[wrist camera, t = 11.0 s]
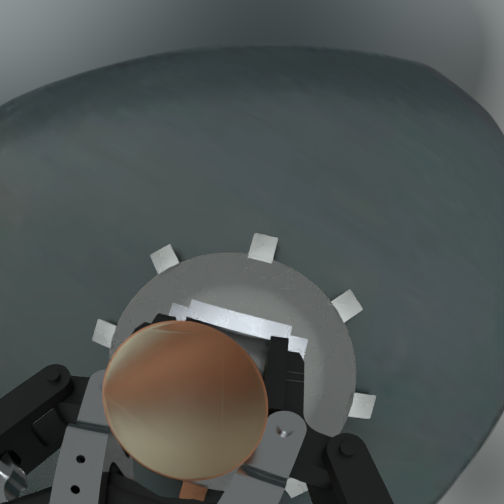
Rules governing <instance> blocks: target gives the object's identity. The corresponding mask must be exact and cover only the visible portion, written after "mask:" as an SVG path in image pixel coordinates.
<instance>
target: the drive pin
mask: <svg viewBox="0 0 504 504" xmlns="http://www.w3.org/2000/svg"><path fill="white" fill-rule="evenodd" d="M102 395H103V406H104V412H105V415H106V418H107V422H108V424H109V426H110V429H111V431H112V433H113V434H114V436H115V438H116V439H117V441H118V442H119V444H120V445H121V446H122V448H123V449H124V450H125V451H126V452H127V453H128V454H129V455H130V456H131V457H132V458H133V459H134V460H136V461H137V462H138V463H139V464H141V465H142V466H144V467H146V468H147V469H149V470H151V471H153V472H155V473H157V474H159V475H162V476H165V477H168V478H172V479H177V480H184V481H202V480H208V479H213V478H216V477H219V476H222V475H224V474H227V473H229V472H231V471H233V470H234V469H236V468H237V467H239V466H240V465H241V464H243V463H244V462H245V461H246V460H247V459H248V458H249V457H250V456H251V455H252V453H253V452H254V451H255V450H256V448H257V446H258V445H259V443H260V441H261V439H262V436H263V434H264V432H265V428H266V424H267V418H268V398H267V393H266V388H265V385H264V382H263V379H262V376H261V374H260V372H259V369H258V367H257V365H256V363H255V361H254V360H253V359H252V357H251V356H250V355H248V353H247V352H246V351H245V350H244V349H243V348H242V347H241V346H240V345H238V344H237V343H236V342H235V341H234V340H233V339H231V338H230V337H228V336H227V335H225V334H224V333H222V332H220V331H218V330H216V329H214V328H212V327H209V326H206V325H204V324H200V323H196V322H191V321H182V320H180V321H165V322H159V323H155V324H152V325H149V326H147V327H145V328H142V329H140V330H139V331H137V332H135V333H134V334H132V335H131V336H130V337H129V338H127V339H126V340H125V341H124V342H123V343H122V344H121V345H120V346H119V347H118V349H117V350H116V352H115V353H114V354H113V356H112V358H111V360H110V362H109V364H108V367H107V369H106V372H105V376H104V381H103V391H102Z"/></svg>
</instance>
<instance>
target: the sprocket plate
mask: <svg viewBox="0 0 504 504" xmlns="http://www.w3.org/2000/svg"><path fill="white" fill-rule="evenodd" d="M277 243H278V238H275V237H271V236H266V235H262V234H258V233H255V234H254V237H253V241H252V244H251V248H250V251H249V254H246V253H231V252H227V253H213V254H207V255H202V256H197V257H194V258H191V259H188V260H185V261H182V262H180V260H179V258H178V256H177V253H176V251H175V250H174V249H173V247H172V246H171V245H170V244H169V245H167V246H165V247H164V248H162V249H160V250H158V251H156V252H155V253H153V254H151V255H150V256H151V259H152V261H153V263H154V265H155V268H156V270H157V272H158V275H157V276H155V277H154V278H153V279H152V280H150V281H149V282H148V283H147V284H146V285H144V286H143V287H142V288H141V290H140V291H139V292H138V293H137V294H136V295H135V296H134V297H133V299H132V300H131V301H130V303H129V304H128V306H127V307H126V308H125V310H124V312H123V314H122V316H121V317H120V319H119V321H118V323H117V325H115V324H113V323H110V322H108V321H104V320H101V319H98V322H97V325H96V328H95V331H94V335H93V338H92V340H93V341H95V342H97V343H99V344H101V345H103V346H106V347H108V348H110V350H109V359H108V364H109V362H110V360H111V358H112V356H113V354H114V353H115V352H116V350H117V349H118V347H119V346H120V345H121V344H122V343H123V342H124V341H125V340H126V339H127V338H129V337H130V335H131V334H132V332H133V331H134V330H135V328H136V327H138V326H139V325H141V324H142V323H144V322H147V323H152V321H153V320H154V318H155V317H156V315H157V314H158V313H161V314H165V315H169V316H174V317H176V320H177V321H180V320H182V321H191V322H196V323H200V324H204V325H206V326H209V327H212V328H214V329H216V330H218V331H220V332H222V333H224V334H225V335H227V336H228V337H230V338H231V339H233V340H234V341H235V342H236V343H237V344H238V345H240V346H241V347H242V348H243V349H244V350H245V351H246V352H247V353H248V355H250V356H251V357H252V359H253V360H254V361H255V363H256V365H257V367H258V369H259V372H260V374H261V376H262V378H263V372H264V367H265V361H266V357H267V352H268V347H269V342H270V337H271V336H277V337H283V338H289V344H288V351H292V352H299V353H300V355H301V357H302V358H303V360H304V362H305V364H304V412H303V413H304V418H305V421H306V422H307V424H308V425H309V426H310V427H311V428H312V429H314V430H315V431H317V432H319V433H322V434H325V435H327V436H330V437H334V436H336V435H338V434H340V432H341V430H342V428H343V426H344V424H345V422H346V420H347V418H348V416H349V417H357V418H365V419H370V417H371V413H372V410H373V406H374V402H375V399H376V396H375V395H372V394H368V393H361V392H355V386H356V363H355V355H354V350H353V346H352V341H351V338H350V336H349V333H348V330H347V328H346V325H345V324H344V322H346V321H347V320H349V319H350V318H352V317H353V316H354V315H356V314H357V313H359V312H360V311H362V310H363V309H362V307H361V306H360V304H359V303H358V301H357V299H356V298H355V296H354V295H353V293H352V292H351V290H350V289H349V290H348V291H346V292H345V293H343V294H342V295H340V296H339V297H337V298H336V299H334V300H333V301H330V300H329V298H328V297H327V296H326V295H325V294H324V293H323V292H322V291H321V290H320V289H319V288H318V287H317V286H316V285H315V284H313V283H312V282H311V281H310V280H309V279H307V278H306V277H305V276H303V275H302V274H300V273H298V272H297V271H295V270H294V269H292V268H290V267H288V266H286V265H284V264H282V263H279V262H277V261H274V256H275V252H276V248H277ZM240 466H242V464H241V465H240ZM240 466H239V467H240ZM239 467H237V468H236V469H234V470H233V471H231V472H229V473H227V474H224V475H222V476H219V477H216V478H213V479H208V480H202V481H184V480H183V485H182V488H181V492H180V495H179V498H181V499H196V500H200V501H204V499H205V497H206V494H207V491H208V489H213V490H221V491H225V490H226V488H227V487H228V485H229V483H230V482H231V480H232V478H233V476H234V475H235V473H236V471H237V470H238V469H239ZM285 490H286V491H287V493H288V494H289V495H290V497H291V498H293V497H295V496H297V495H299V494H301V493H303V492H305V491H307V490H308V488H307V485H306V483H304V482H301V481H299V480H296V479H293V478H291V477H288V480H287V484H286V487H285Z"/></svg>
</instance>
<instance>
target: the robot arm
mask: <svg viewBox="0 0 504 504" xmlns="http://www.w3.org/2000/svg"><path fill="white" fill-rule="evenodd" d="M165 321H177V320H176V317H174V316H169V315H165V314H161V313H158V314H157V315H156V317H155V318H154V320H153V321H152V323H147V322H144V323H142V324H141V325H139V326H138V327H136V328H135V330H134V331H133V332H132V334H134V333H135V332H137V331H139V330H140V329H142V328H145V327H147V326H149V325H152V324H155V323H159V322H165ZM132 334H131V335H132ZM131 335H130V336H131ZM288 344H289V338H283V337H277V336H271V337H270V342H269V347H268V352H267V357H266V361H265V367H264V372H263V378H262V379H263V382H264V385H265V388H266V393H267V398H268V418H267V424H266V428H265V432H264V434H263V436H262V439H261V441H260V443H259V445H258V446H257V448H256V450H255V451H254V452H253V453H252V455H251V456H250V457H249V458H248V459H247V460H246V461H245V462H244V463H243V464H242V466H240V467H239V469H238V470H237V471H236V473H235V475H234V476H233V478H232V480H231V482H230V483H229V485H228V487H227V488H226V490H225V492H224V493H223V495H222V497H221V498H220V500H219V502H218V503H217V504H278V503H279V501H280V499H281V497H282V494H283V492H284V490H285V487H286V484H287V480H288V477H291V478H293V479H296V480H299V481H301V482H304V483H306V485H307V488H308V491H309V494H310V497H311V500H312V503H313V504H394V503H393V501H392V499H391V497H390V495H389V493H388V490H387V488H386V486H385V484H384V482H383V480H382V478H381V476H380V474H379V472H378V470H377V468H376V466H375V464H374V462H373V459H372V457H371V455H370V453H369V451H368V449H367V447H366V445H365V443H364V442H363V441H362V440H361V439H360V438H359V437H357V436H356V435H353V434H349V433H342V434H338V435H336V436H334V437H330V436H327V435H325V434H322V433H319V432H317V431H315V430H314V429H312V428H311V427H310V426H309V425H308V424H307V422H306V421H305V418H304V413H303V412H304V364H305V362H304V360H303V358H302V357H301V355H300V353H299V352H292V351H288ZM105 372H106V369H104V370H100V371H97V372H96V373H94V374H93V375H92V376H91V377H78V376H71V375H70V373H69V371H68V369H67V368H66V367H64V366H62V365H59V364H53V365H49V366H47V367H45V368H44V369H42V370H41V371H39V372H38V373H36V374H35V375H34V376H32V377H31V378H29V379H28V380H26V381H25V382H23V383H22V384H21V385H19V386H18V387H16V388H15V389H13V390H12V391H11V392H9V393H8V394H6V395H5V396H4V397H2V398H1V399H0V504H214V503H209V502H204V501H200V500H196V499H180V498H166V497H160V496H158V495H156V494H154V493H153V492H151V491H149V490H148V489H146V488H145V487H143V486H141V485H140V484H138V483H137V482H135V481H134V469H133V458H132V457H131V456H130V455H129V454H128V453H127V452H126V451H125V450H124V449H123V448H122V446H121V445H120V444H119V442H118V441H117V439H116V438H115V436H114V434H113V433H112V431H111V429H110V426H109V424H108V422H107V418H106V415H105V412H104V406H103V395H102V391H103V381H104V376H105ZM52 408H54V409H52ZM51 409H52V410H51ZM50 410H51V411H50ZM48 411H50V412H48ZM47 412H48V413H47ZM46 413H47V414H46ZM44 414H46V415H44ZM43 415H44V416H43ZM42 416H43V417H42ZM40 417H42V418H41V419H39V418H40ZM38 419H39V420H38ZM36 420H38V421H37V422H35V421H36ZM34 422H35V423H34ZM33 423H34V424H33ZM60 447H61V450H60V454H59V459H58V463H57V467H56V472H55V477H54V481H53V486H51V487H49V488H46V489H43V490H41V491H38V492H35V493H32V494H29V495H26V496H23V497H20V498H18V497H19V493H20V491H21V490H26V488H27V482H26V475H27V474H28V473H30V472H31V471H32V470H33V469H35V468H36V467H37V466H38V465H39V464H41V463H42V462H43V461H44V460H46V459H47V458H48V457H49V456H51V455H52V454H53V453H54V452H55V451H57V450H58V449H59V448H60Z"/></svg>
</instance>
